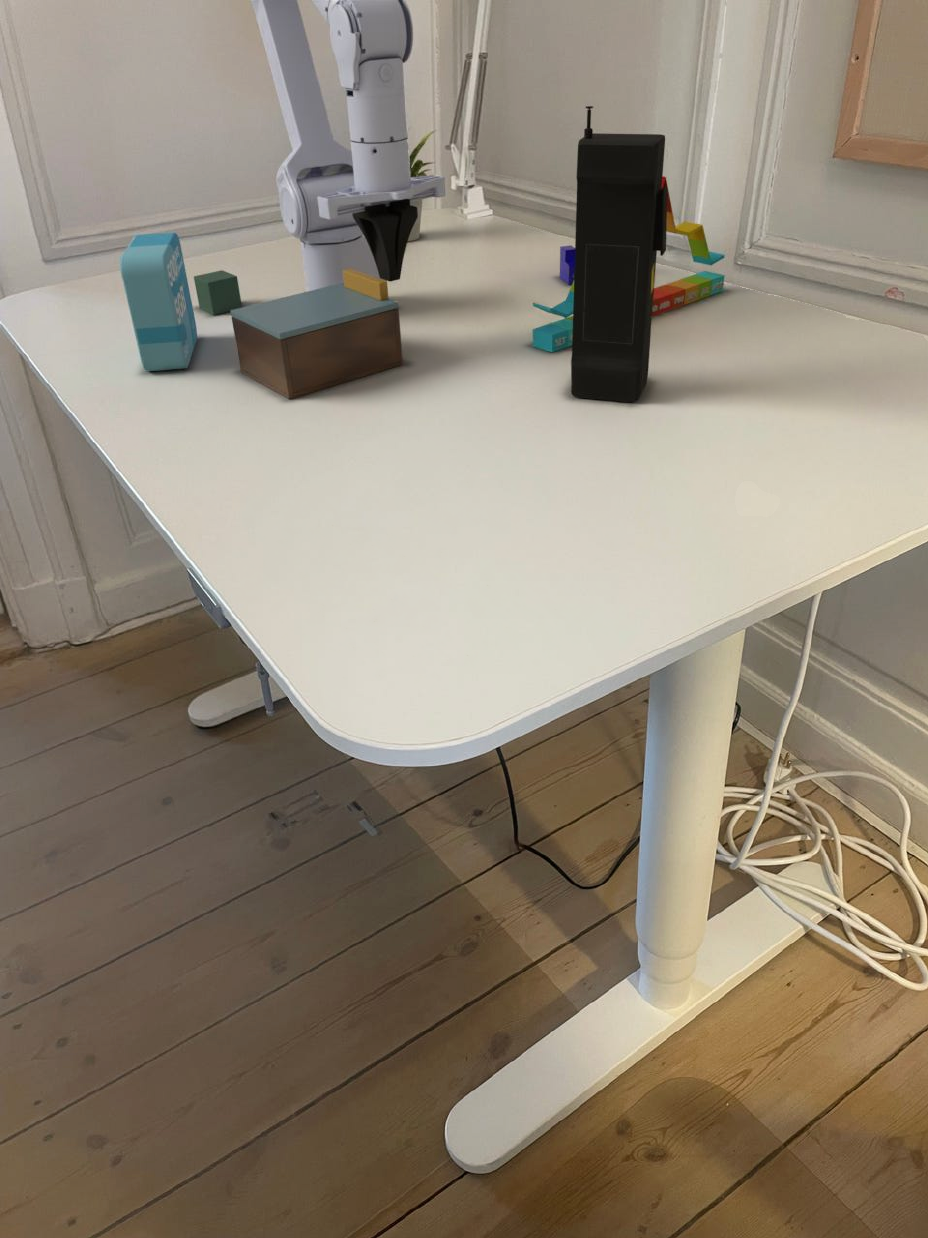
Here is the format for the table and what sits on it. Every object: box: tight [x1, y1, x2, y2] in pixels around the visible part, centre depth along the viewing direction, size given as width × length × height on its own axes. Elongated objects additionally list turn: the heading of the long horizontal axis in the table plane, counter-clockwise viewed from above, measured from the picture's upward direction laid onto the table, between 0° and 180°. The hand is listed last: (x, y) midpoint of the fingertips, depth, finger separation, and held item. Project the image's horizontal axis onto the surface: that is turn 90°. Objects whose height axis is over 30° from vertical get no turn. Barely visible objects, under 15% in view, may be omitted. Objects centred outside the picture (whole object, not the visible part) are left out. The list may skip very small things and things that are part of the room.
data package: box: [119, 232, 198, 372], centre depth 105 cm, size 12×4×12 cm, turn 7°
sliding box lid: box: [229, 269, 400, 339], centre depth 99 cm, size 14×10×2 cm
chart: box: [532, 176, 726, 353], centre depth 109 cm, size 30×3×15 cm, turn 131°
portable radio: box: [570, 105, 668, 403], centre depth 88 cm, size 8×6×25 cm
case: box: [231, 308, 404, 400], centre depth 101 cm, size 14×10×6 cm
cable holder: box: [559, 244, 575, 286], centre depth 126 cm, size 8×4×4 cm, turn 105°
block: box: [193, 269, 243, 316], centre depth 121 cm, size 4×4×4 cm
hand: (390, 278), depth 103 cm, fingers closed
